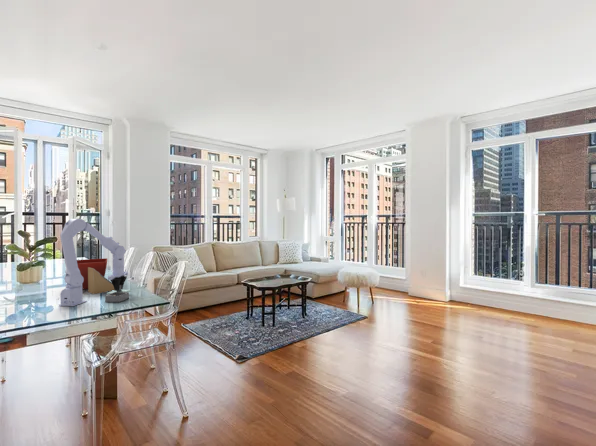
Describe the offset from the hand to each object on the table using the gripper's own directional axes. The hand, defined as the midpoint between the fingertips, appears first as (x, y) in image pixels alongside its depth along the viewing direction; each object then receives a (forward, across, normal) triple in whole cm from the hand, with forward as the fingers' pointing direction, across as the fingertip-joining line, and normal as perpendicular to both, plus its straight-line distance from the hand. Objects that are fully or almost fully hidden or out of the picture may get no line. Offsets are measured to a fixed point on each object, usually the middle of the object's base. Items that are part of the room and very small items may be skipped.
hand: (118, 290), depth 188 cm
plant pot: (+3, +17, +32) cm, 36 cm away
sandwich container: (+4, +10, +16) cm, 20 cm away
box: (+3, -10, -6) cm, 12 cm away
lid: (+2, 0, 0) cm, 2 cm away
